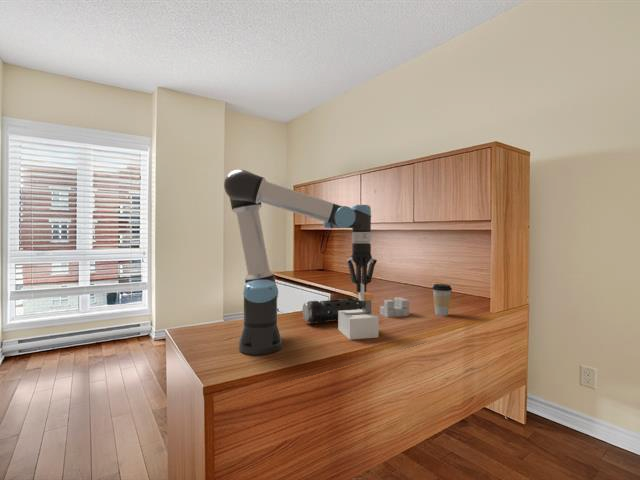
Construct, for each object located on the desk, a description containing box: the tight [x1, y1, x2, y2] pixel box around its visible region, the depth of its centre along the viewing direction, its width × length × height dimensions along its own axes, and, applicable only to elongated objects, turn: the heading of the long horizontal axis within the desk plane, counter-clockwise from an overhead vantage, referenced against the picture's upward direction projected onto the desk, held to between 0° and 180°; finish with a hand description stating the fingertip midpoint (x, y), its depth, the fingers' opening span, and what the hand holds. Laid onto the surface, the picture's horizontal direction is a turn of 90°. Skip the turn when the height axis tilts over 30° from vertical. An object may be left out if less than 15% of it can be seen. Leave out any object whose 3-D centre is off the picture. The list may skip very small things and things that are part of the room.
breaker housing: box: [337, 308, 380, 340], centre depth 134 cm, size 12×14×8 cm
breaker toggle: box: [362, 291, 374, 313], centre depth 135 cm, size 3×6×8 cm, turn 15°
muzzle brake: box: [301, 297, 362, 324], centre depth 152 cm, size 10×28×10 cm, turn 113°
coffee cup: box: [431, 283, 453, 317], centre depth 165 cm, size 9×9×15 cm
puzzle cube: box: [379, 296, 410, 318], centre depth 167 cm, size 12×12×8 cm
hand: (361, 300), depth 134 cm, fingers closed
